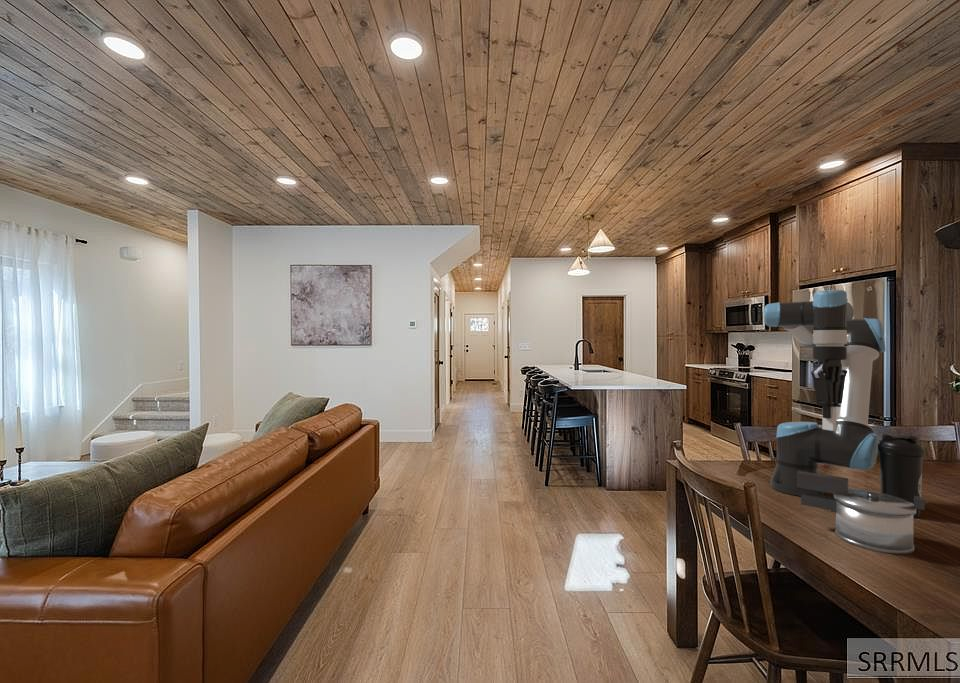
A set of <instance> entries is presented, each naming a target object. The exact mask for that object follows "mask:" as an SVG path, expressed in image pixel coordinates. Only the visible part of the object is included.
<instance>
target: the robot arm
mask: <svg viewBox="0 0 960 683" xmlns="http://www.w3.org/2000/svg"><path fill="white" fill-rule="evenodd" d="M854 316H855V309H854V307H853V306H852V305H851V303H850V302H848V295H847V292H846V290H844V289H843V290H842V289H828V290H827V289H826V290H817V291H816V292H814V293H813V300H811V301H808V300H807V301H793V302H792V301H789V302H787V301H786V302H779V301H778V302H772V303H768V304H767V303H766V305H765V306H764V309H763V321H764V322H763V323H764V324H765V326H767V327H774V328H777V327H780V328H783V329H785V330H786V331H787V332H789V333H790V334H791V335H792V336H793V338H794V339H795V341H797V342H798V343H800V344H801V345H803V346H805V347H807V348H811V349H812V359H814V360H817V365H816V370H811V371H810V374H811V377H812V379H813V385H814V386H813V387H814V391H815V392H814V393H815V401H816V404H817V406H821V407H822V408H821V409H822V412H821V413H822V420H821V421H822V425H821V426H822V427H820V426H819V424H818V423H817V422H816V421H815V422H813V421H789V422H782V423H780V424H779V425H777V428H776V435H775V438H776V465H775V467H774V471H773V473H772V476H771V478H770V487H771V488H772V489H773V490H775V491H778V492H780V493H783V494H786V495H787V494H788V495H792V496H793V495H794V496H798V497H801V493H802V492H807V493H813V494H818V495H824V496H825V492H821V491H815V490H809V489H804V488H798V487H797V472H798V471H804V472H811V473H817V474H820V472H819V464H823V465H829V466H835V467H841V468H847V469H851V470H862V471H869V470H870V469H872V468H874V466H875V464H876V460H877V458H878V453H879V451H878V443H880V436H879V435H878V434H876V433H874V430H875V429H873V427H872V426H871V425H869V414H870V413H869V412H870V401H871V399H870V398H871V389H872V388H871V386H872V374H873V363H874V361H875V360H877V359H878V358H879V357H880V353H884V352H886V341H885V334H884V327H883V323H882V321H881V320H880V319H878V318H866V317H864V318H854Z"/></svg>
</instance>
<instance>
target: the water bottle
mask: <svg viewBox="0 0 960 683" xmlns="http://www.w3.org/2000/svg"><path fill="white" fill-rule="evenodd" d="M919 440H920V438H919V437H918V436H915V435H909V434H908V435H891V434H889V433H884V434H882V436H881V440H879V443H878V453H879V474H880V475H879V476H880V478H879V479H880V480H879V481H880V493H883V494H887V495H891V496H895V497H898V498H902V499H904V500H907V501H909V502H911V503H913V504H914V496H920V497H922V485H923V484H922V482H923V458H924V456H925V448H924V447H923V445H921V443H919V442H918V441H919ZM920 516H921V509H917V508H916V514H914V515H913V519H917V518H920Z"/></svg>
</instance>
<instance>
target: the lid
mask: <svg viewBox="0 0 960 683" xmlns="http://www.w3.org/2000/svg"><path fill="white" fill-rule="evenodd" d="M797 487H798V488H804V489H809V490H815V491H821V492H824V493H827V494H833V497H834V499H835V500H836V501H837V502H839V503H841V504H843V505H846V506H849V507H851V508H855V509H858V510H862V511H866V512H871V513H877V514H883V515H892V516H911V515H914V514H916V508H917V509H920V510H922V511H925V510H926V509H925V508H926V507H925V506H926V504H925V503H926V500H925V497H924V496H921V497H920V496H914V504H913V503H911V502H909V501H907V500H904V499H902V498H898V497H895V496H891V495H887V494H883V493H881V492H878V491H871V490H864V489H853V488H851V489H850V488H849V478H848V477H841V476H835V475H830V474H822V473H819V474H817V473H811V472H804V471H798V472H797Z"/></svg>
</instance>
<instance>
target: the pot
mask: <svg viewBox="0 0 960 683" xmlns="http://www.w3.org/2000/svg"><path fill="white" fill-rule="evenodd" d="M800 505H802V506H807V507H813V508H817V509H822V510H828V511H830V512H831V513H835V528H834V535H836V537H838V538H839V539H840V540H842V541H844V542H846V543H848V544H850V545H853V546H856V547H858V548H862V549H866V550H869V551H873V552H876V553H883V554H891V555H909V554H912V553H914V552H915V545H914V518H913V515H911V516H892V515H883V514H877V513H871V512H866V511H862V510H858V509H855V508H851V507H849V506H846V505H843V504H841V503H839V502H837V501H836V500H835V499H834V495H833V496H829V495H825V494H824V495H818V494H813V493H807V492H802V493H801V496H800Z"/></svg>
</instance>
